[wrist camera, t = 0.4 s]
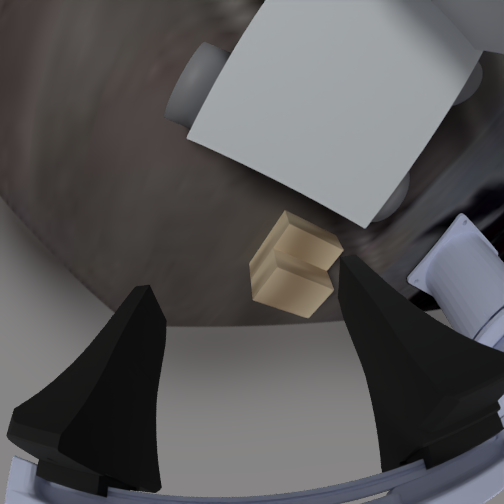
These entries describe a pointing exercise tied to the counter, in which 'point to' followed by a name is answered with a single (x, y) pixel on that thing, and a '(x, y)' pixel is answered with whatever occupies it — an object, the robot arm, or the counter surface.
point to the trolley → (338, 93)
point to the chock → (294, 266)
